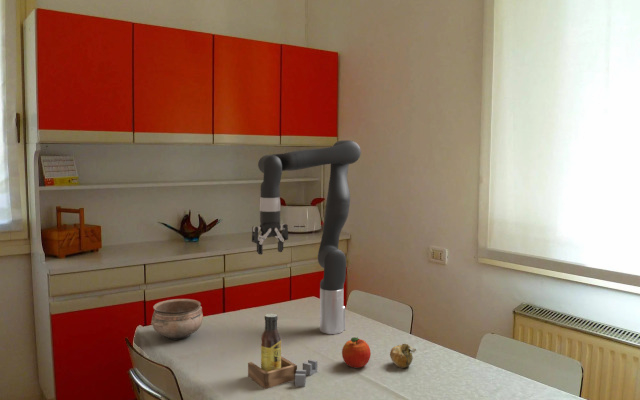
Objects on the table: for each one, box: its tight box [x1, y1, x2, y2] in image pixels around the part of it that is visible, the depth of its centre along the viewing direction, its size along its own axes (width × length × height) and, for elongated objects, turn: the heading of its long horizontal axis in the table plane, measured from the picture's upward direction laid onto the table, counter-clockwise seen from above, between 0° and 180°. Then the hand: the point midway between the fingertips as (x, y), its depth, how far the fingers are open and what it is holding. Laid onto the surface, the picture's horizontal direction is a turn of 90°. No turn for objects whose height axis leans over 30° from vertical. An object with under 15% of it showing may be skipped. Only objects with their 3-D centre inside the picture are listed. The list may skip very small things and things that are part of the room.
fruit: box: [341, 336, 372, 369], centre depth 178 cm, size 10×10×10 cm
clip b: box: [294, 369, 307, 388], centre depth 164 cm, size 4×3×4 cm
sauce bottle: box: [260, 313, 282, 372], centre depth 168 cm, size 6×6×20 cm
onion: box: [389, 343, 417, 369], centre depth 178 cm, size 8×8×8 cm
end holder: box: [247, 355, 298, 390], centre depth 168 cm, size 11×11×4 cm
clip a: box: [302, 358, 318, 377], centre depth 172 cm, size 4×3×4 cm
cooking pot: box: [150, 298, 204, 341], centre depth 204 cm, size 25×19×12 cm
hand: (270, 253), depth 199 cm, fingers open, 8 cm apart
